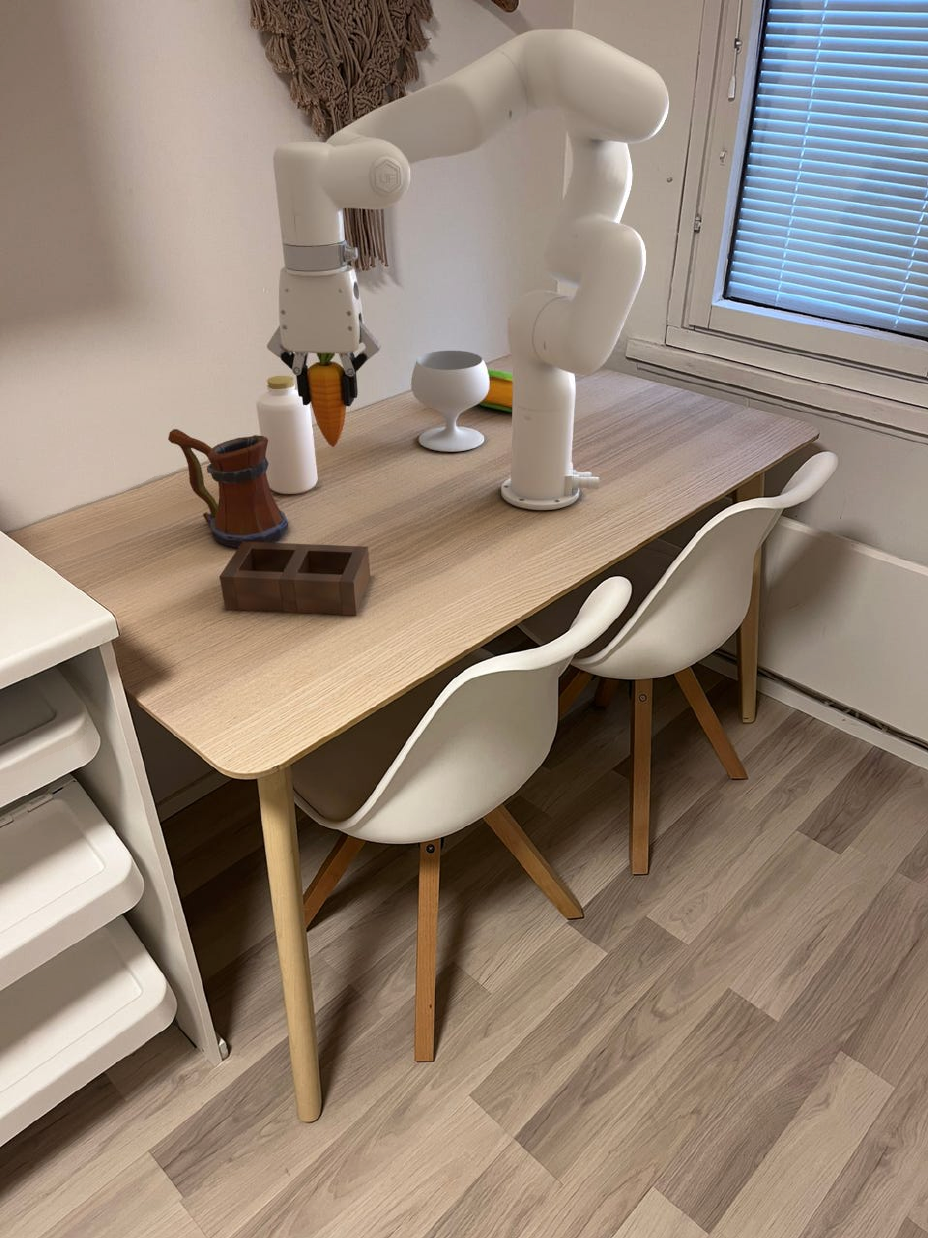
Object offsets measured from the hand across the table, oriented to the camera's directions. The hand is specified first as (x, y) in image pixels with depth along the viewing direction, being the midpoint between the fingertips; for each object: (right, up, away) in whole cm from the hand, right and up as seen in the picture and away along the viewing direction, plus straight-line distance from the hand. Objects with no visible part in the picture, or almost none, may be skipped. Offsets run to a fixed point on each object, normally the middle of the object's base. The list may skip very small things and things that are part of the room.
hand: (328, 400), depth 119 cm
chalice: (+16, +4, +47) cm, 50 cm away
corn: (+26, +13, +61) cm, 68 cm away
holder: (-4, -26, +1) cm, 26 cm away
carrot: (0, -6, +4) cm, 7 cm away
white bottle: (-11, -7, +31) cm, 33 cm away
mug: (-17, -15, +18) cm, 29 cm away
